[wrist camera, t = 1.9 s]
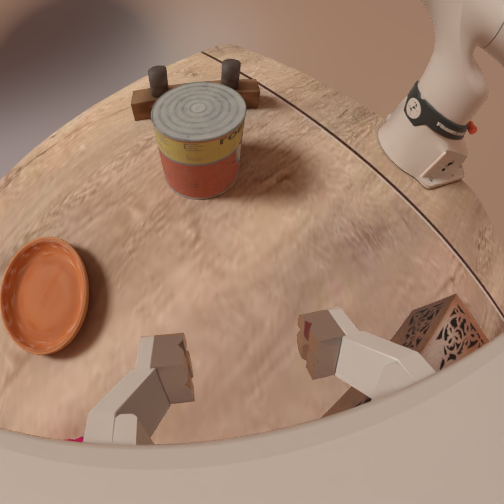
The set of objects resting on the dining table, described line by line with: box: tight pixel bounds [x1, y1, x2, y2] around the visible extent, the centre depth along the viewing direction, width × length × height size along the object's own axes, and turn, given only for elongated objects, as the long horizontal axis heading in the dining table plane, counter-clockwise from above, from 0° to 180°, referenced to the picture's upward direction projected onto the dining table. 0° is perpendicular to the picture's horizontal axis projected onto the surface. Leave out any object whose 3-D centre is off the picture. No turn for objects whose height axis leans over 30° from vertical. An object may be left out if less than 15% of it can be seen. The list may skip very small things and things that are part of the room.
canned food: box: [151, 82, 246, 200], centre depth 36 cm, size 11×11×12 cm
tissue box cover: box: [321, 294, 489, 418], centre depth 27 cm, size 26×14×10 cm, turn 131°
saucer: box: [0, 237, 89, 355], centre depth 31 cm, size 16×16×3 cm
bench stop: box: [131, 59, 260, 121], centre depth 42 cm, size 22×4×9 cm, turn 100°
